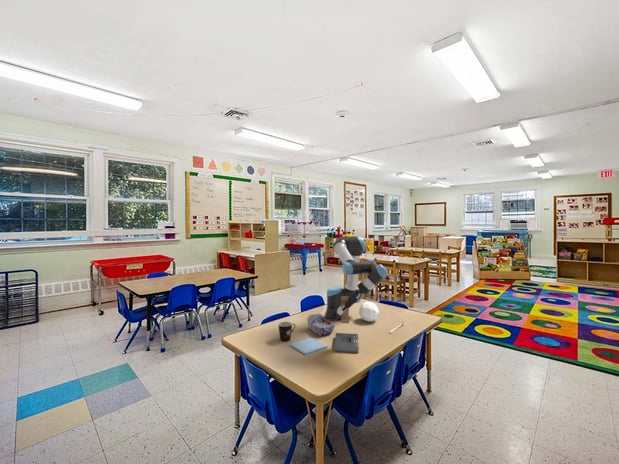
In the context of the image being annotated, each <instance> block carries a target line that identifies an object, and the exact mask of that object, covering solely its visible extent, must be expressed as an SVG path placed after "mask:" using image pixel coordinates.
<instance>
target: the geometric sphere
mask: <svg viewBox="0 0 619 464" xmlns="http://www.w3.org/2000/svg"><path fill="white" fill-rule="evenodd" d="M358 309H359V310H358V313H359V316H360V317H361V319H362V320H363V321H364V322H368V323H372V322H374V321H375V320H377V319H378V316H379V315H380V314H379V308H378V306H377V305H376V304H375V303H374V302H372V301H371V302H370V301H365V302H364V303H362V304H361V305H360V307H359V308H358Z"/></svg>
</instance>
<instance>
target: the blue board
mask: <svg viewBox="0 0 619 464" xmlns="http://www.w3.org/2000/svg"><path fill="white" fill-rule="evenodd" d="M289 346H290V347H292V348H293V349H295V350H297V352H298V351H299V352H300V353H301V354H303V355H304V356H307V355H308V356H309V355H311V354H314V353H315V352H316V353H317V352H320V351H321V350H325V349H327V348H328V345H327V344H324V343H322V342H320V341H319V340H317V339H315V338H313V337H307V338H306V339H303V340H298V341H296V342H292V343H289Z"/></svg>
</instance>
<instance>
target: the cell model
mask: <svg viewBox="0 0 619 464" xmlns="http://www.w3.org/2000/svg"><path fill="white" fill-rule="evenodd" d="M307 325H308V329H310V330H311V332H313V333H315V334H316V335H318V336H326V335H329V334H331V333H332V332H333V331H334V330H335V326H336V325H335V323H333V322H332V321H331V320H329V321H328V320H326V318H325V317H323V314H321V313H315V314H314V313H313V314H308V317H307Z"/></svg>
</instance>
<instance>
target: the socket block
mask: <svg viewBox="0 0 619 464" xmlns="http://www.w3.org/2000/svg"><path fill="white" fill-rule="evenodd" d="M358 335H359V334H358V333H344V332H342V333H341V332H336V333H335V335H334V336H335V338H334V345H333V349H334V350H333V351H334V352H339V353H355V354H359V353H360V352H359V351H360V350H359V348H360V345H359V336H358Z"/></svg>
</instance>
